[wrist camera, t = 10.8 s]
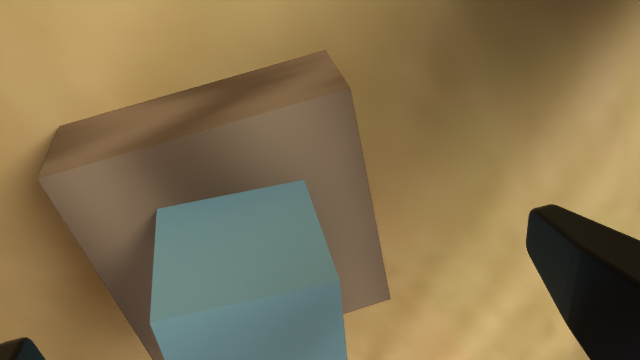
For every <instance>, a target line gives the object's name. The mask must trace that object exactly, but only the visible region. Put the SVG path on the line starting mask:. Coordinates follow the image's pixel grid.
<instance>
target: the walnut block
mask: <svg viewBox="0 0 640 360" xmlns="http://www.w3.org/2000/svg"><path fill="white" fill-rule="evenodd" d="M37 180H38V182H39V183H40V185H41V186H42V188H43V189H44V191H45V193H46V194H47V196H48V197H49V199H50V200H51V202H52V203H53V205H54V207H55V208H56V210H57V211H58V213H59V214H60V216H61V217H62V219H63V221H64V222H65V224H66V225H67V227H68V228H69V230H70V231H71V233H72V235H73V236H74V238H75V239H76V241H77V242H78V244H79V245H80V247H81V249H82V250H83V252H84V253H85V255H86V256H87V258H88V259H89V261H90V263H91V264H92V266H93V267H94V269H95V270H96V272H97V274H98V275H99V277H100V278H101V280H102V281H103V283H104V284H105V286H106V288H107V289H108V291H109V292H110V294H111V295H112V297H113V298H114V300H115V302H116V303H117V305H118V306H119V308H120V309H121V311H122V312H123V314H124V316H125V317H126V319H127V320H128V322H129V323H130V325H131V326H132V328H133V330H134V331H135V333H136V334H137V336H138V337H139V339H140V340H141V342H142V344H143V345H144V347H145V348H146V350H147V351H148V353H149V354H150V356H151V358H152V359H153V360H164V357H163V355H162V352H161V350H160V347H159V345H158V342H157V340H156V338H155V335H154V333H153V330H152V328H151V325H150V310H151V294H152V278H153V263H154V247H155V231H156V215H157V209H159V208H164V207H169V206H174V205H179V204H184V203H189V202H194V201H199V200H204V199H209V198H214V197H219V196H224V195H229V194H234V193H239V192H244V191H249V190H255V189H260V188H265V187H270V186H275V185H280V184H285V183H290V182H295V181H300V180H304V181H305V184H306V187H307V189H308V192H309V195H310V198H311V201H312V204H313V206H314V209H315V212H316V215H317V218H318V220H319V223H320V226H321V229H322V232H323V235H324V237H325V240H326V243H327V246H328V249H329V252H330V254H331V257H332V260H333V263H334V266H335V268H336V271H337V274H338V277H339V280H340V289H341V299H342V309H343V314H345V313H348V312H351V311H354V310H357V309H360V308H363V307H367V306H370V305H373V304H376V303H379V302H382V301H386V300H389V299H390V294H389V289H388V284H387V279H386V273H385V268H384V263H383V258H382V252H381V247H380V242H379V237H378V231H377V226H376V221H375V216H374V210H373V205H372V200H371V195H370V189H369V184H368V179H367V174H366V168H365V163H364V158H363V153H362V147H361V142H360V137H359V132H358V126H357V121H356V116H355V111H354V105H353V100H352V95H351V90H350V87H349V86H348V84H347V83H346V81H345V79H344V78H343V76H342V75H341V73H340V72H339V70H338V69H337V67H336V66H335V64H334V63H333V61H332V60H331V58H330V57H329V55H328V54H327V52H326V50H324V51H321V52H317V53H314V54H310V55H307V56H303V57H300V58H296V59H293V60H289V61H286V62H282V63H279V64H275V65H272V66H268V67H265V68H261V69H258V70H254V71H251V72H247V73H244V74H240V75H237V76H233V77H230V78H226V79H223V80H219V81H216V82H212V83H209V84H205V85H202V86H198V87H195V88H191V89H188V90H184V91H181V92H177V93H174V94H170V95H167V96H163V97H160V98H156V99H153V100H149V101H146V102H142V103H139V104H135V105H132V106H128V107H125V108H121V109H118V110H114V111H111V112H107V113H104V114H100V115H97V116H93V117H90V118H86V119H83V120H79V121H76V122H72V123H69V124H65V125H62V126H59V128H58V131H57V133H56V135H55V138H54V140H53V143H52V145H51V147H50V150H49V152H48V154H47V157H46V159H45V162H44V164H43V166H42V169H41V171H40V173H39V176H38V178H37Z"/></svg>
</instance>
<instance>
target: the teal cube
mask: <svg viewBox="0 0 640 360" xmlns="http://www.w3.org/2000/svg"><path fill="white" fill-rule="evenodd" d="M150 325H151V328H152V330H153V333H154V335H155V338H156V340H157V342H158V345H159V347H160V350H161V352H162V355H163V357H164V360H347V351H346V340H345V330H344V320H343V309H342V299H341V289H340V280H339V277H338V274H337V271H336V268H335V266H334V263H333V260H332V257H331V254H330V252H329V249H328V246H327V243H326V240H325V237H324V235H323V232H322V229H321V226H320V223H319V220H318V218H317V215H316V212H315V209H314V206H313V204H312V201H311V198H310V195H309V192H308V189H307V187H306V184H305V181H304V180H300V181H295V182H290V183H285V184H280V185H275V186H270V187H265V188H260V189H255V190H249V191H244V192H239V193H234V194H229V195H224V196H219V197H214V198H209V199H204V200H199V201H194V202H189V203H184V204H179V205H174V206H169V207H164V208H159V209H157V215H156V231H155V247H154V263H153V278H152V294H151V310H150Z"/></svg>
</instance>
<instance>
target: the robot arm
mask: <svg viewBox="0 0 640 360" xmlns="http://www.w3.org/2000/svg"><path fill="white" fill-rule="evenodd" d="M526 247H527V251H528V254H529V256H530V258H531V260H532V261H533V263H534V265H535V267H536V269H537V271H538V273H539V275H540V276H541V278H542V280H543V282H544V284H545V286H546V288H547V289H548V291H549V293H550V295H551V297H552V299H553V301H554V303H555V304H556V306H557V308H558V310H559V312H560V314H561V315H562V317H563V319H564V321H565V322H566V324H567V326H568V327H569V329H570V330H571V332H572V333H573V335H574V336H575V338H576V339H577V341H578V342H579V344H580V345H581V347H582V348H583V350H584V351H585V352H586V354H587V355H588V357H589V358H590V360H640V240H637V239H635V238H633V237H630V236H628V235H626V234H623V233H621V232H618V231H616V230H614V229H611V228H609V227H607V226H604V225H602V224H600V223H597V222H595V221H593V220H590V219H588V218H585V217H583V216H581V215H578V214H576V213H574V212H571V211H569V210H567V209H564V208H562V207H559V206H557V205H553V204H551V205H546V206H542V207H538V208H534V209H532V210H531V211H530V213H529V218H528V228H527V237H526ZM0 360H45V358H44V357H43V355H42V354H41V353H40V351H39V350H38V348H37V347H36V346H35V344H34V343H33V342H32V340H31V339H29V338H27V337H25V338H24V337H23V338H19V339H15V340H11V341H7V342H4V343H1V344H0Z"/></svg>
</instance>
